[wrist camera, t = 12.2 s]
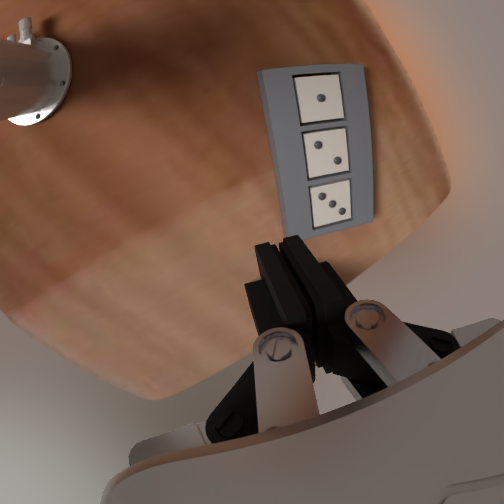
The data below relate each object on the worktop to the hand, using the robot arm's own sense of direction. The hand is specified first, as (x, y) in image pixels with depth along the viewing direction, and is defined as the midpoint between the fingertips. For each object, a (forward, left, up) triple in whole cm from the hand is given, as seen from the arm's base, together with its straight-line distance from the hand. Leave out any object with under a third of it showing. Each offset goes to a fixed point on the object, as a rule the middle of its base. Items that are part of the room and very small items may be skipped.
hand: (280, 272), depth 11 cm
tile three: (+11, +14, -28) cm, 33 cm away
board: (+3, +14, -29) cm, 32 cm away
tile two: (+3, +14, -28) cm, 32 cm away
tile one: (-5, +14, -28) cm, 32 cm away
